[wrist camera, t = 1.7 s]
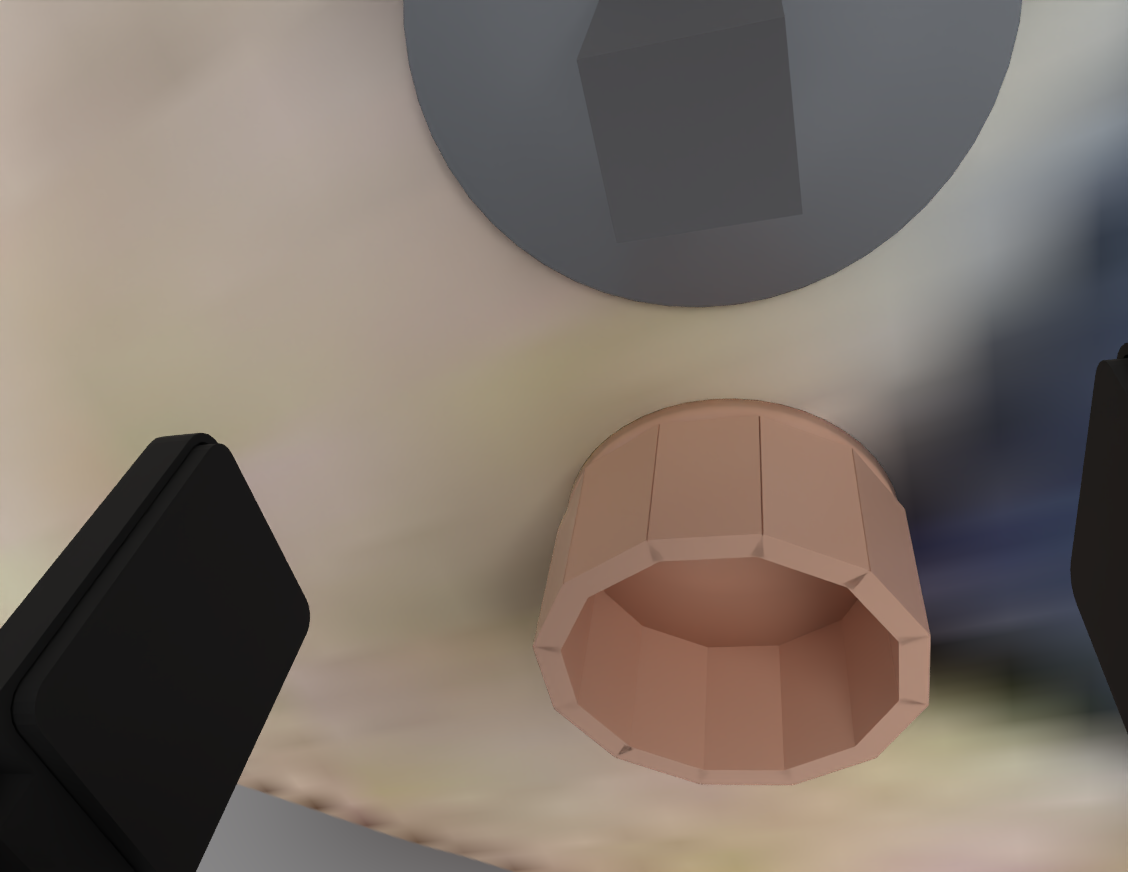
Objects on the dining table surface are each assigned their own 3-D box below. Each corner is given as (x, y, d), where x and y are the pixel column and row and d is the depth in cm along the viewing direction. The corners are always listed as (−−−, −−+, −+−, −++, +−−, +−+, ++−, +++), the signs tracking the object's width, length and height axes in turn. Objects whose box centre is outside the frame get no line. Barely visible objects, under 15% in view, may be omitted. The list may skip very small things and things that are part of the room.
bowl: (535, 414, 30) (498, 547, 25) (900, 382, 28) (933, 524, 23) (600, 643, 37) (579, 783, 32) (901, 635, 34) (927, 786, 29)
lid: (323, -236, 20) (184, -208, 15) (1033, -450, 17) (1177, -512, 12) (499, 323, 28) (449, 468, 23) (1003, 252, 25) (1080, 403, 20)
